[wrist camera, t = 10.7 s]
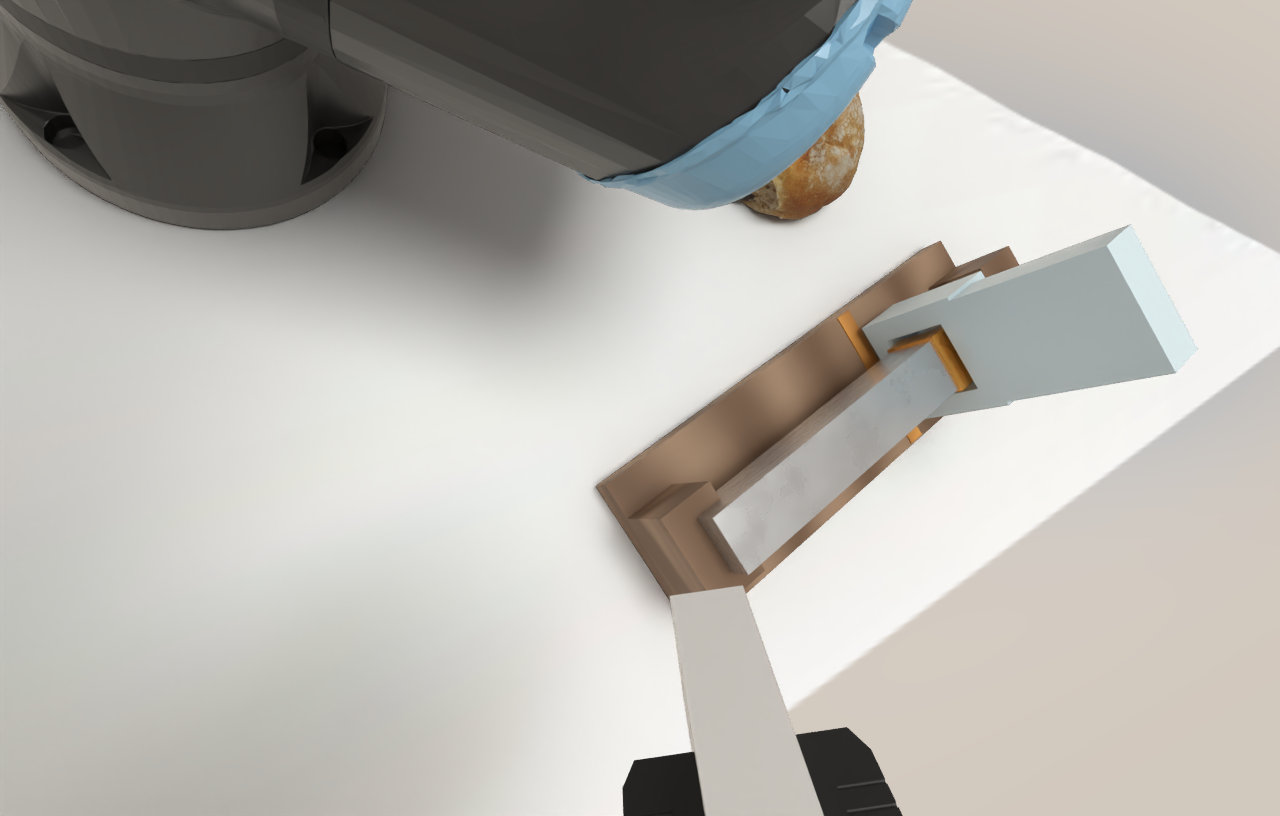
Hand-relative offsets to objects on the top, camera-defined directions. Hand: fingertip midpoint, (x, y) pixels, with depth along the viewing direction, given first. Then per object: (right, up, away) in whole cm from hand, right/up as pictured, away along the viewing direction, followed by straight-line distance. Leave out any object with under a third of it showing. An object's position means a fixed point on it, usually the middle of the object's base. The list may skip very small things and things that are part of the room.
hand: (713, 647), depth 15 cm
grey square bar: (+11, +5, +24) cm, 27 cm away
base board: (+9, +5, +27) cm, 29 cm away
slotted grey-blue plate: (+14, +8, +28) cm, 32 cm away
